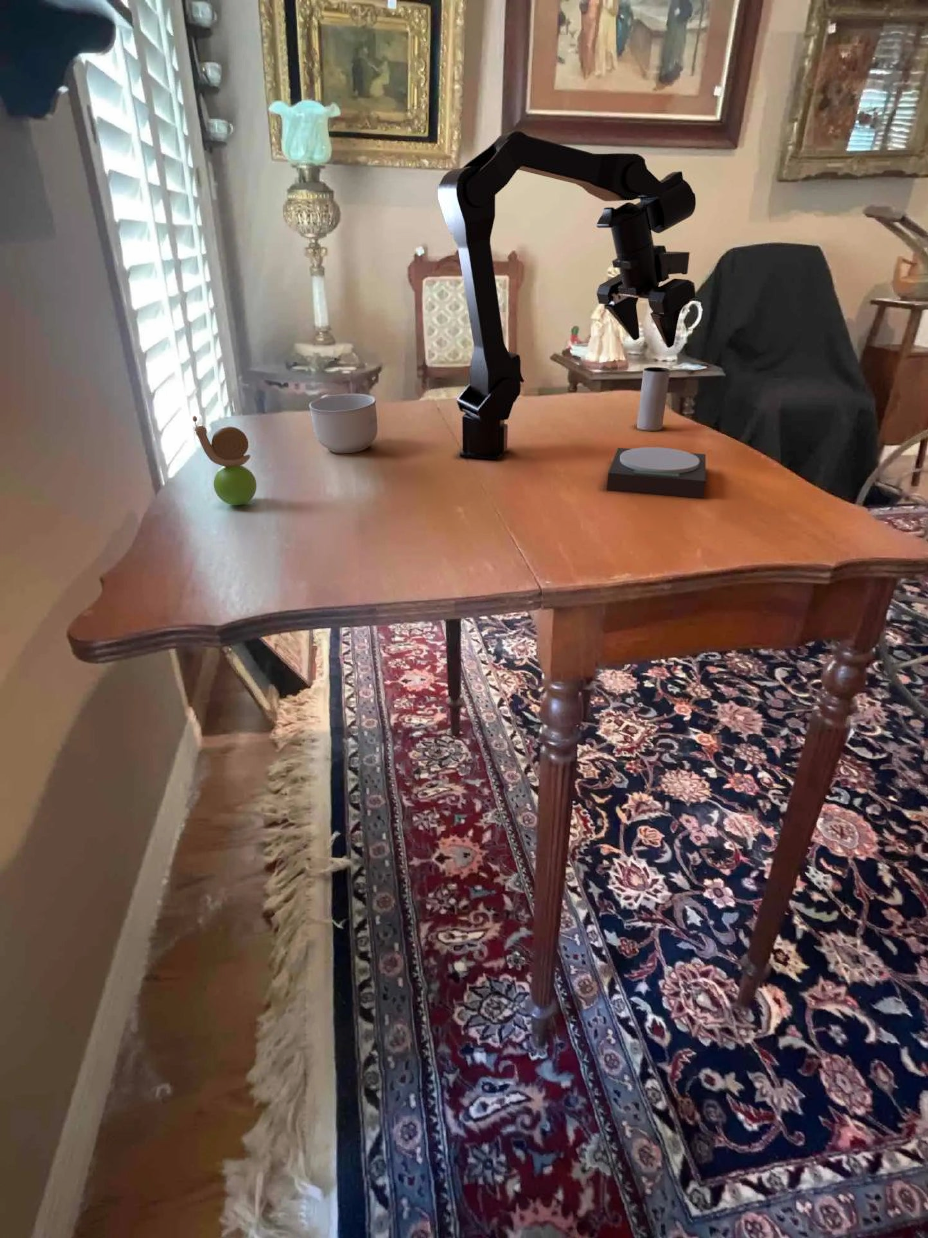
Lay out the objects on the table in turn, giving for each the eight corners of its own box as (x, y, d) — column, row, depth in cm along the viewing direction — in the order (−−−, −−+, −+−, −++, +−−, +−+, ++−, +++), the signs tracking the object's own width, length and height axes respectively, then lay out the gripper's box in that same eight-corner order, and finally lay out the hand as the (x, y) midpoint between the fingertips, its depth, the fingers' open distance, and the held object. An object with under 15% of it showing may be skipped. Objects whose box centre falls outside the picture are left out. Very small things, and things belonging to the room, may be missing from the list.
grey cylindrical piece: (664, 431, 125) (672, 371, 119) (639, 431, 125) (646, 371, 120) (659, 424, 129) (666, 366, 123) (634, 424, 129) (641, 366, 124)
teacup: (386, 453, 114) (383, 403, 110) (321, 460, 110) (315, 409, 106) (365, 433, 125) (361, 387, 121) (305, 439, 122) (299, 392, 118)
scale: (606, 489, 97) (608, 468, 96) (616, 463, 108) (618, 443, 106) (702, 498, 94) (706, 476, 92) (702, 470, 105) (706, 450, 103)
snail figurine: (209, 501, 94) (191, 412, 89) (257, 495, 96) (242, 407, 90) (211, 514, 90) (192, 421, 84) (261, 508, 92) (246, 416, 86)
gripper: (717, 223, 101) (729, 327, 111) (639, 224, 116) (656, 315, 125) (656, 257, 100) (674, 359, 109) (585, 253, 115) (606, 343, 124)
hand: (653, 342), depth 117 cm, fingers open, 9 cm apart
